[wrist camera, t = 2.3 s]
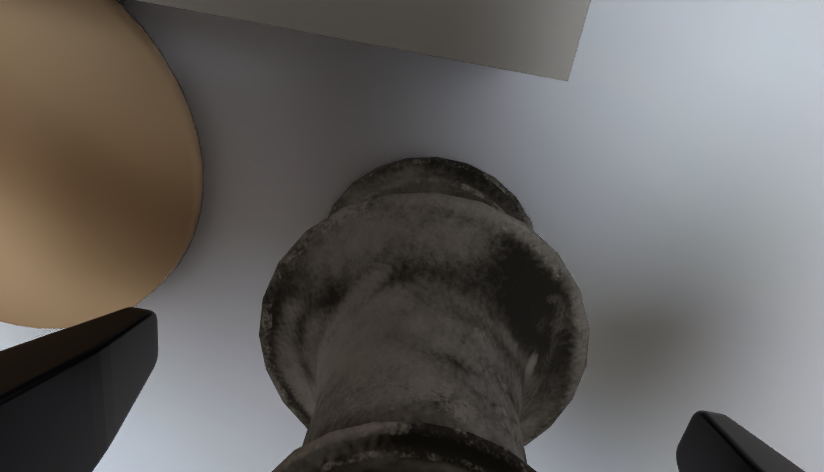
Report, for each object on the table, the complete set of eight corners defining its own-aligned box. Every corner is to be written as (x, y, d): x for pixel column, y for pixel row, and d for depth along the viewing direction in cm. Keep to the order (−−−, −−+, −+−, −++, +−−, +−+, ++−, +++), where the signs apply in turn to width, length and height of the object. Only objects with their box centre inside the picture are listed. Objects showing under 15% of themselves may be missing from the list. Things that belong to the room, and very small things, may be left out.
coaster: (201, 343, 14) (190, 356, 13) (-135, 282, 14) (-159, 293, 13) (206, -30, 10) (192, -33, 10) (-245, -115, 10) (-285, -123, 10)
